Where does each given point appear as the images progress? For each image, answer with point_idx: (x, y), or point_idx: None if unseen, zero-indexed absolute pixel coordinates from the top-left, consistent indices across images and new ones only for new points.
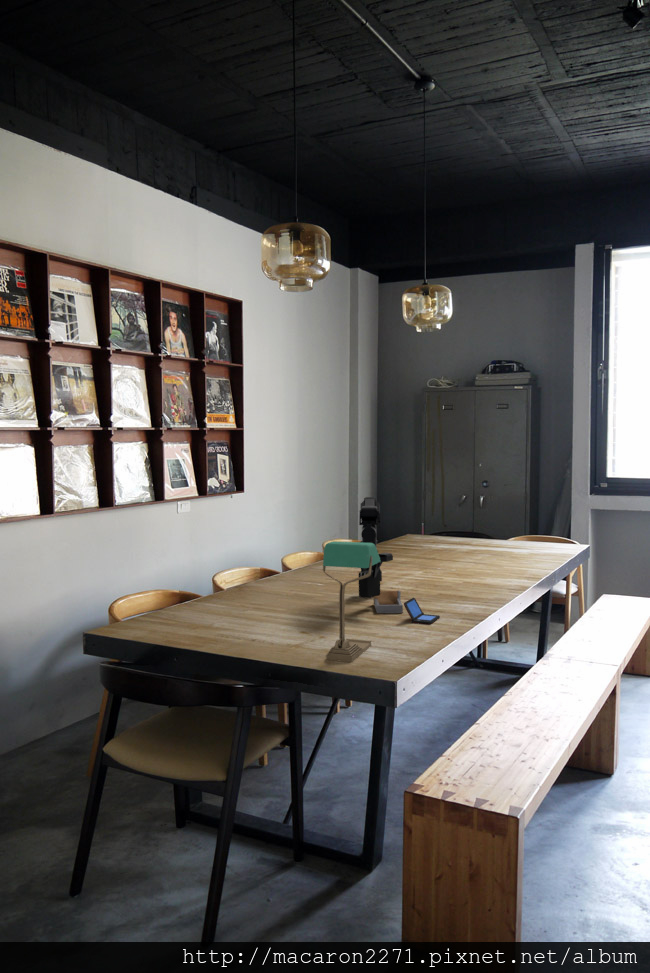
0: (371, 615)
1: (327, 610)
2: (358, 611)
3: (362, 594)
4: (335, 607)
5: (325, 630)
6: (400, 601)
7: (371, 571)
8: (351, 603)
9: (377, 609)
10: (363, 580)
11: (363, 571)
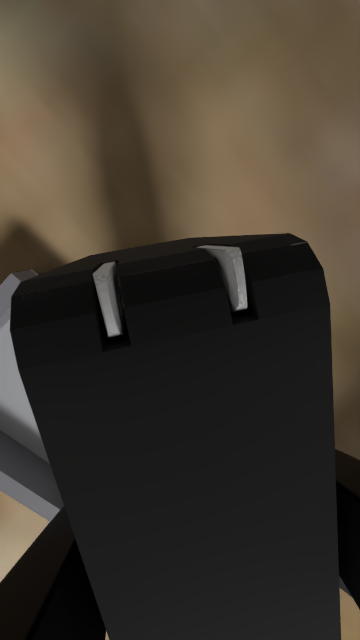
0: (8, 188)
1: (338, 99)
2: (162, 224)
3: (148, 245)
4: (348, 211)
5: None
6: (1, 489)
7: (177, 601)
8: (336, 361)
9: (21, 272)
10: (138, 254)
11: (345, 488)
